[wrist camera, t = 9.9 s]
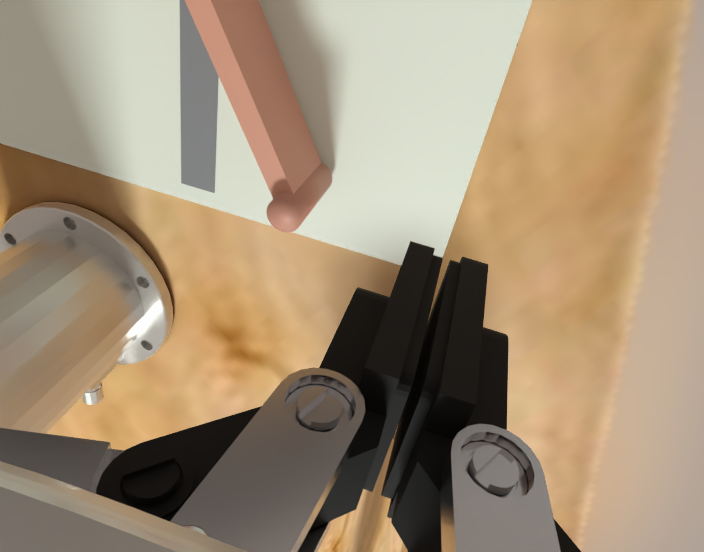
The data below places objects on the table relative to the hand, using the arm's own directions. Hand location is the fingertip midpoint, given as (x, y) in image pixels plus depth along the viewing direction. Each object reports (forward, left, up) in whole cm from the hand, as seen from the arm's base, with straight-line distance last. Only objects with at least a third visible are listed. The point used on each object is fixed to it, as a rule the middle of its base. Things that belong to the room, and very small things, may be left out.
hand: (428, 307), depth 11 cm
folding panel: (+1, +10, -14) cm, 17 cm away
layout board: (+1, +13, -15) cm, 20 cm away
